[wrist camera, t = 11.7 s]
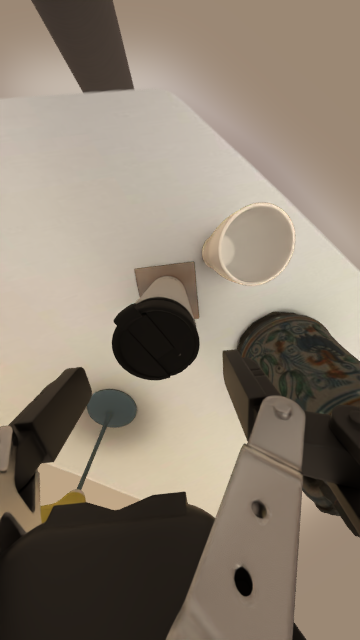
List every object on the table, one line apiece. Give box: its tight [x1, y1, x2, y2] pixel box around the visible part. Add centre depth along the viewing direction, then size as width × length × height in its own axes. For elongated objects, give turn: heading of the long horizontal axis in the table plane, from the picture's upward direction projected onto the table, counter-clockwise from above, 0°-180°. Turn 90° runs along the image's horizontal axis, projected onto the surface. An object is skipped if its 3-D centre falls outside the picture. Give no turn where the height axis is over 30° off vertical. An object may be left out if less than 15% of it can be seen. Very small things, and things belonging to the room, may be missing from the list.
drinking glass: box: [202, 203, 295, 286], centre depth 22 cm, size 7×7×15 cm
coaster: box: [134, 262, 199, 319], centre depth 31 cm, size 10×10×1 cm
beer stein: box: [238, 312, 360, 537], centre depth 24 cm, size 16×19×25 cm
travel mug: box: [112, 276, 200, 380], centre depth 21 cm, size 6×7×20 cm
